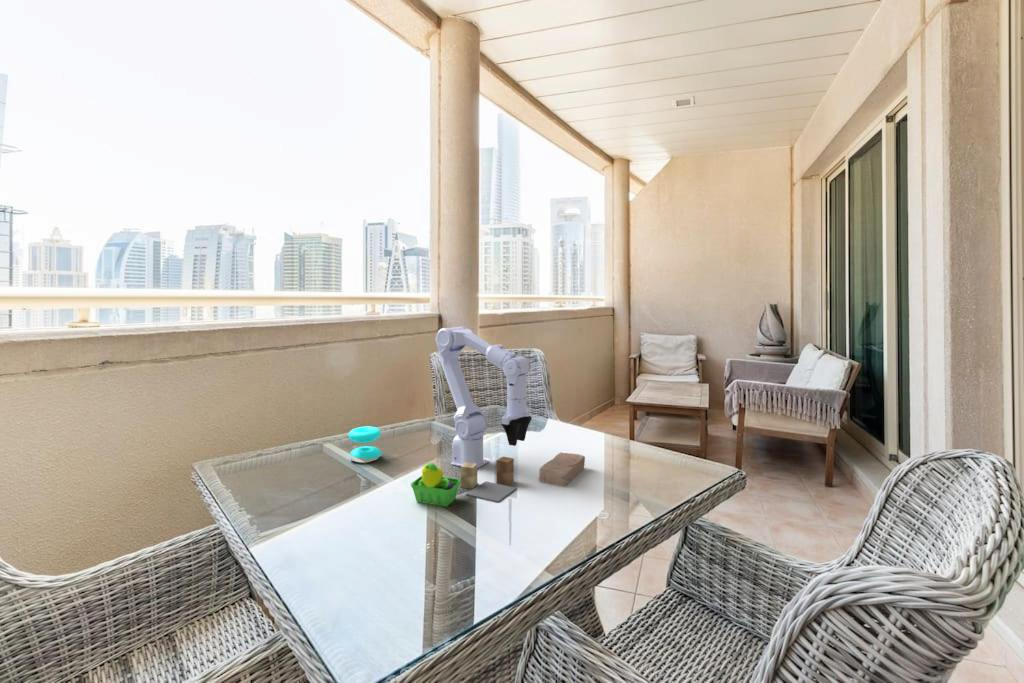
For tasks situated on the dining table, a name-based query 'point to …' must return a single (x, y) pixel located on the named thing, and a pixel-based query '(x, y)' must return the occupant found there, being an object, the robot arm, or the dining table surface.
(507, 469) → the walnut block
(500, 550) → the dining table surface
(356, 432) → the donuts
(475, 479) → the oak block
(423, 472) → the fruit basket
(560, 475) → the brick
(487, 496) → the mat
